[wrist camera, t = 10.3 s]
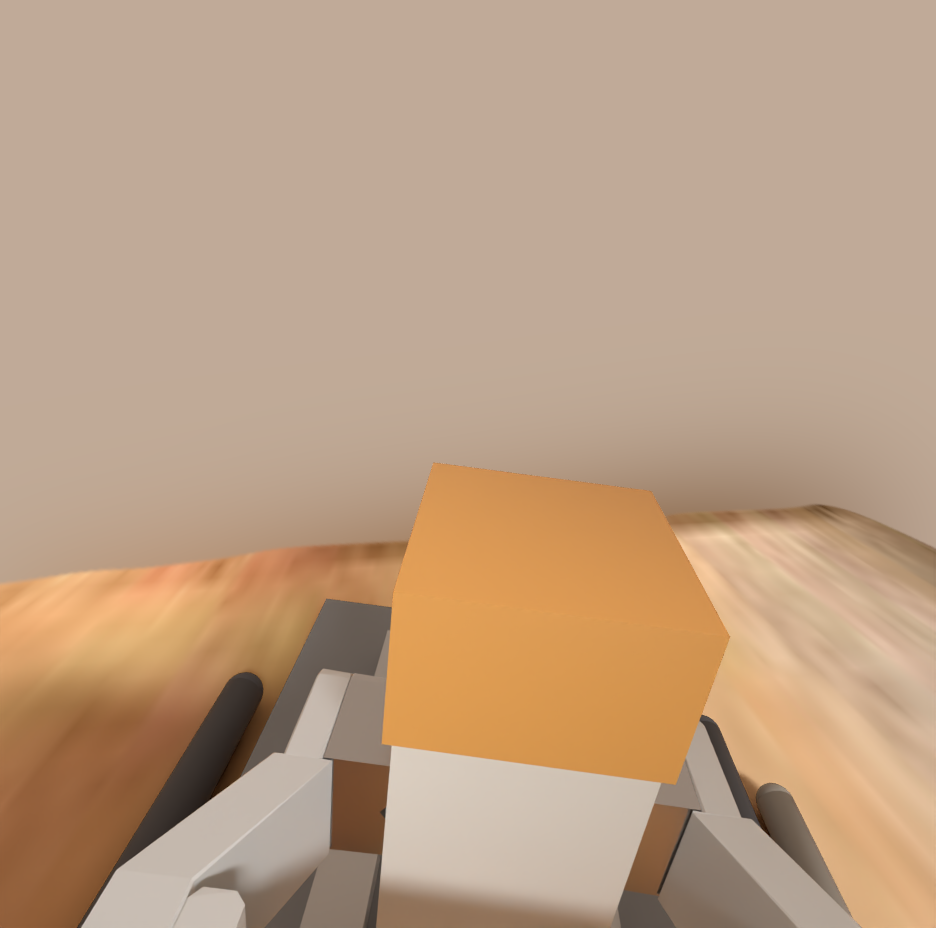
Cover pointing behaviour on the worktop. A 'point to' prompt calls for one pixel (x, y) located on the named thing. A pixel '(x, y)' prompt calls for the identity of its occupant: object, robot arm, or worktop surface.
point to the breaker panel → (353, 873)
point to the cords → (243, 695)
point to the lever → (534, 698)
